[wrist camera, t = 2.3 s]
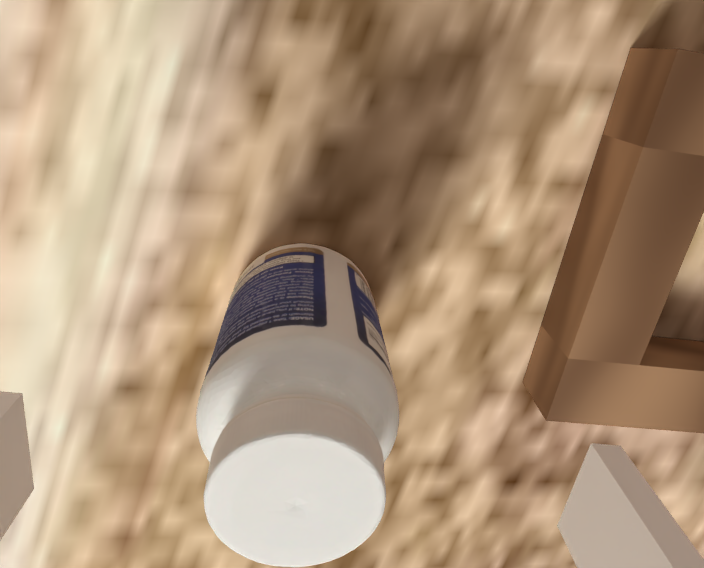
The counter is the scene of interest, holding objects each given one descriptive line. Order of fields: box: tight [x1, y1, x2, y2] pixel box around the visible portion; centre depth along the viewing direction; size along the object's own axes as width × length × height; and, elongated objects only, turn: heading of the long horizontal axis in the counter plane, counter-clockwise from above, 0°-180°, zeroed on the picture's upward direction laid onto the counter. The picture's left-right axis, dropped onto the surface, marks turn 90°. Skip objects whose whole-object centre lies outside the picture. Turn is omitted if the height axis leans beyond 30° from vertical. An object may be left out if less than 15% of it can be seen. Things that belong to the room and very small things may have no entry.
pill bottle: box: [196, 243, 399, 567], centre depth 16 cm, size 5×5×10 cm
